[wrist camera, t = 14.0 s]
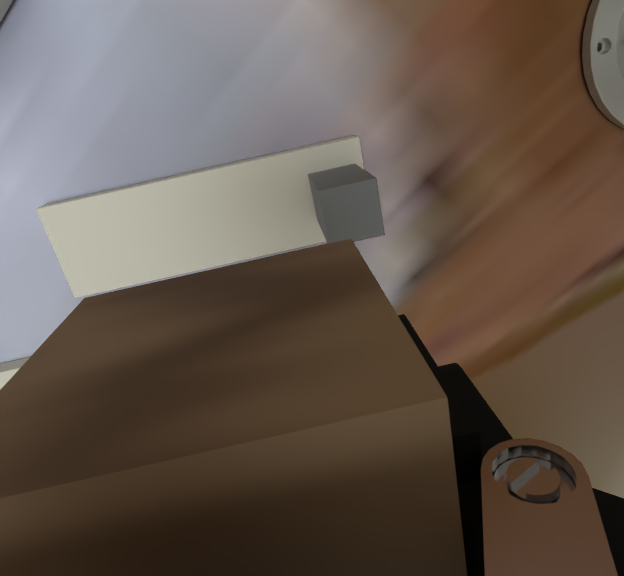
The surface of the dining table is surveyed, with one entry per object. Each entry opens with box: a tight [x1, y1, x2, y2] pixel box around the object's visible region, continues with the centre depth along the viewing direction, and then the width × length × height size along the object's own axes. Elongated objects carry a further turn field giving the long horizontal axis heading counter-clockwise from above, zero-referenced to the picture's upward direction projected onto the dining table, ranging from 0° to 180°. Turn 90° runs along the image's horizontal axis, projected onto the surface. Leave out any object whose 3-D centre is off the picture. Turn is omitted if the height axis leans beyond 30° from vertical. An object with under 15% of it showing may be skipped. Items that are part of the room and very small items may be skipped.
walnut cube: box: [0, 239, 467, 576], centre depth 9 cm, size 6×6×6 cm
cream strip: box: [36, 135, 385, 298], centre depth 28 cm, size 20×6×8 cm, turn 102°
